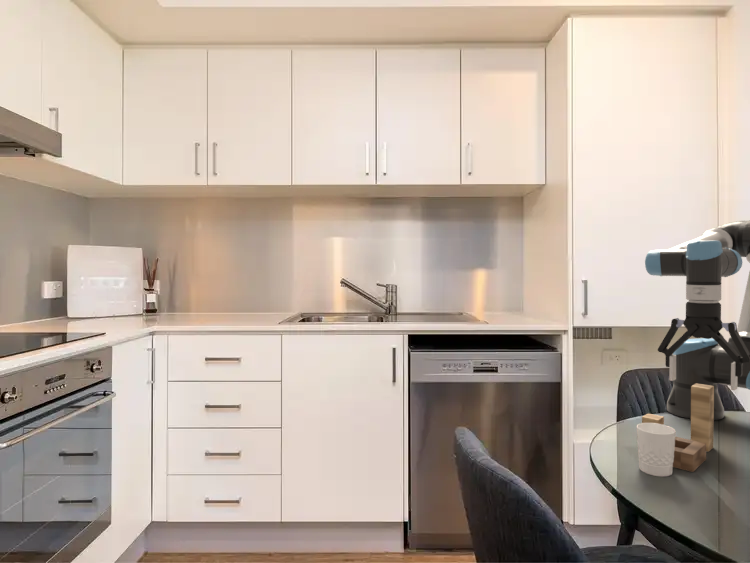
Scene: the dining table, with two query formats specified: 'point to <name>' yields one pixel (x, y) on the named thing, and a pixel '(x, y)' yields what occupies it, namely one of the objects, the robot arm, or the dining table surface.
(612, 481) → the dining table surface
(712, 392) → the long oak peg
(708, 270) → the robot arm
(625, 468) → the dining table surface
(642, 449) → the white cup
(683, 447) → the walnut hole block
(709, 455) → the dining table surface
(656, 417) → the short oak peg
